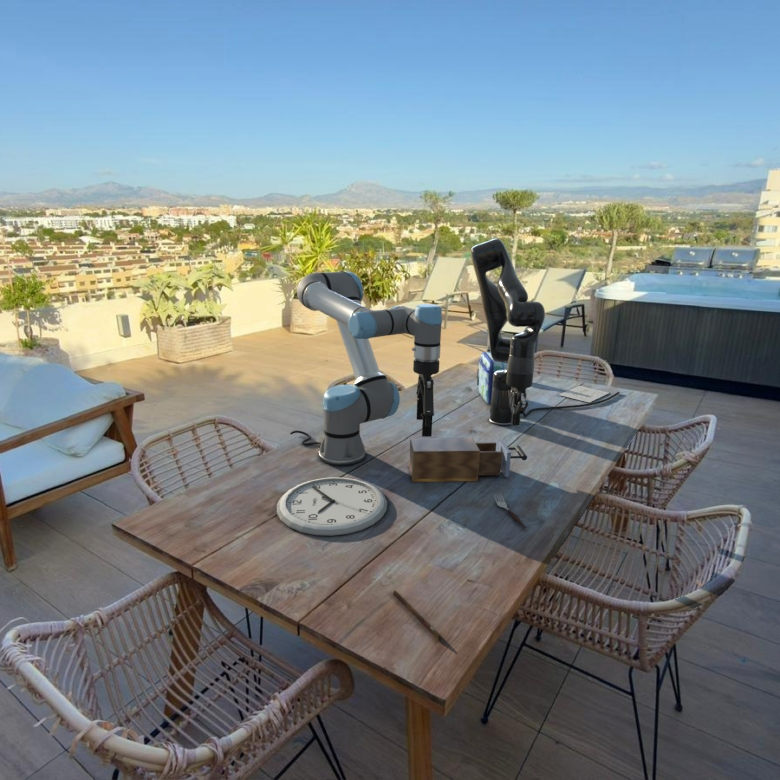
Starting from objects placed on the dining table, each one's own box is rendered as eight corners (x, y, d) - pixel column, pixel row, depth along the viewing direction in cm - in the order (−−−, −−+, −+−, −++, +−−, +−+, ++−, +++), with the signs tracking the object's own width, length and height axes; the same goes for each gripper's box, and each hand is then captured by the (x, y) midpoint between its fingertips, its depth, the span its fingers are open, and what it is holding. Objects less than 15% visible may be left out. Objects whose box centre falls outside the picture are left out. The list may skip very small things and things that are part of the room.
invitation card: (579, 385, 255) (609, 392, 245) (579, 386, 255) (609, 393, 245) (558, 394, 241) (589, 402, 231) (558, 395, 241) (589, 402, 231)
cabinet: (470, 466, 168) (472, 437, 165) (477, 481, 158) (480, 450, 155) (409, 466, 166) (410, 437, 164) (412, 481, 157) (413, 451, 154)
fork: (520, 530, 132) (521, 523, 132) (492, 499, 147) (492, 493, 146) (529, 529, 133) (530, 522, 132) (500, 498, 147) (501, 492, 147)
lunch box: (475, 390, 246) (478, 346, 240) (498, 390, 246) (501, 347, 240) (484, 408, 221) (487, 360, 215) (509, 409, 221) (513, 360, 215)
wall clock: (392, 527, 129) (268, 531, 127) (391, 533, 130) (269, 537, 127) (383, 473, 158) (282, 475, 155) (383, 478, 158) (282, 480, 156)
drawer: (517, 463, 168) (519, 440, 166) (526, 476, 159) (528, 452, 157) (443, 464, 166) (444, 441, 164) (448, 477, 158) (449, 453, 155)
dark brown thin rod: (392, 594, 108) (393, 590, 108) (394, 593, 109) (394, 589, 108) (438, 640, 96) (438, 636, 96) (440, 639, 97) (440, 635, 96)
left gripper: (409, 349, 162) (407, 413, 169) (418, 370, 139) (415, 444, 145) (433, 349, 163) (430, 413, 169) (446, 370, 139) (442, 443, 146)
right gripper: (501, 364, 160) (497, 417, 165) (514, 376, 147) (509, 433, 152) (525, 364, 160) (520, 417, 166) (540, 376, 148) (534, 432, 153)
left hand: (423, 427), depth 157 cm, fingers open, 13 cm apart
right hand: (515, 424), depth 159 cm, fingers closed
